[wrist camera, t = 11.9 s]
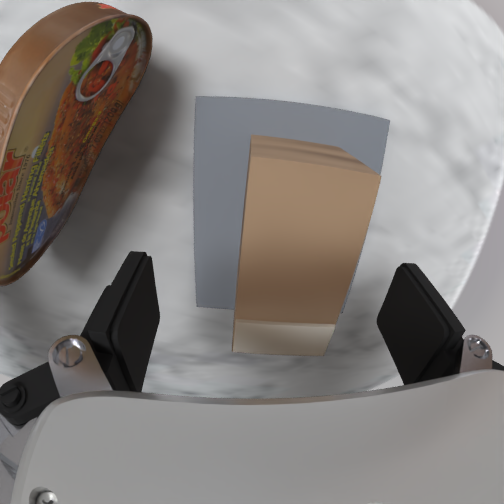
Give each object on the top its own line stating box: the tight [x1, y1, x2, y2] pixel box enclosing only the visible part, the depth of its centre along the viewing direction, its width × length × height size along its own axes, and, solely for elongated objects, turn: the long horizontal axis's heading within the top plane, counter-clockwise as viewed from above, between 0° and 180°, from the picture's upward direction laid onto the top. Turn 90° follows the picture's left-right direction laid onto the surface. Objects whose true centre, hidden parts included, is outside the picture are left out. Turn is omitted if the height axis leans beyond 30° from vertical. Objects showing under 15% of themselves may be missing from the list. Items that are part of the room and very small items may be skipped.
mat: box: [193, 96, 390, 313], centre depth 16 cm, size 10×13×1 cm
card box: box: [232, 135, 381, 356], centre depth 14 cm, size 9×4×6 cm, turn 174°
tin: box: [0, 2, 152, 286], centre depth 10 cm, size 15×3×8 cm, turn 141°
